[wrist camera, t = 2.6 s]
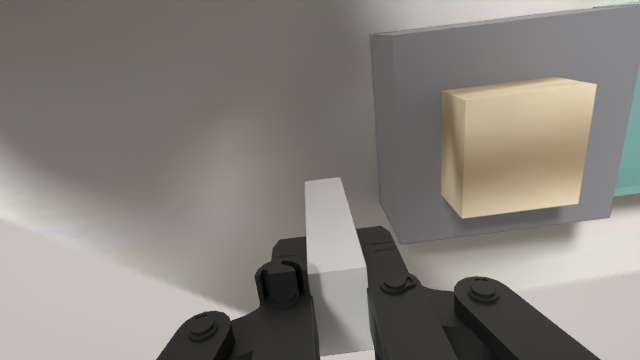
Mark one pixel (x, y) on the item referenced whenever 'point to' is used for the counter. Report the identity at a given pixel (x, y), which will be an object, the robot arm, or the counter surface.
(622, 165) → the box
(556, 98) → the tile
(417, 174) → the gray rectangular block
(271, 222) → the counter surface
